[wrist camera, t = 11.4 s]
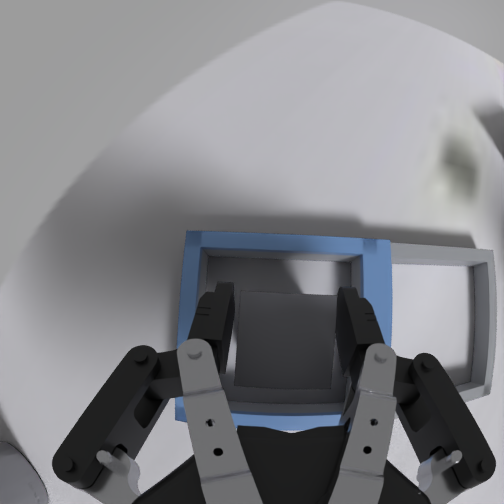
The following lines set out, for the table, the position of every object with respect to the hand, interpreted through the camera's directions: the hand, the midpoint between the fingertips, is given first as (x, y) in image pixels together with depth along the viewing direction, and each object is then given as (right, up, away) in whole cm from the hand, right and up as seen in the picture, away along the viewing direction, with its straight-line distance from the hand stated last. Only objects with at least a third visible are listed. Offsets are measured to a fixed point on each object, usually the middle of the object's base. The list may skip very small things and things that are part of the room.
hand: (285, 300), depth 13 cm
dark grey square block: (0, -3, +5) cm, 6 cm away
